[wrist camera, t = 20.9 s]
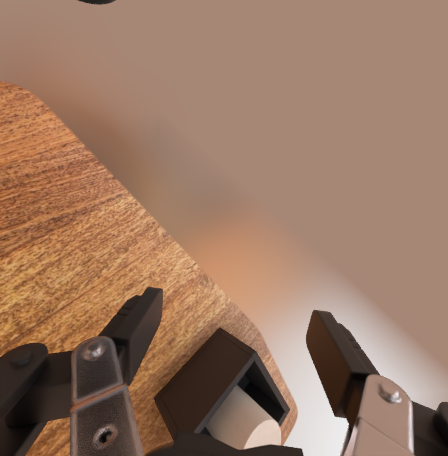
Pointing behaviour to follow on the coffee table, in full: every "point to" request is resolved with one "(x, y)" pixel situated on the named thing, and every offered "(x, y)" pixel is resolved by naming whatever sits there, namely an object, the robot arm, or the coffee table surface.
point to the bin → (217, 385)
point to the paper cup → (243, 423)
